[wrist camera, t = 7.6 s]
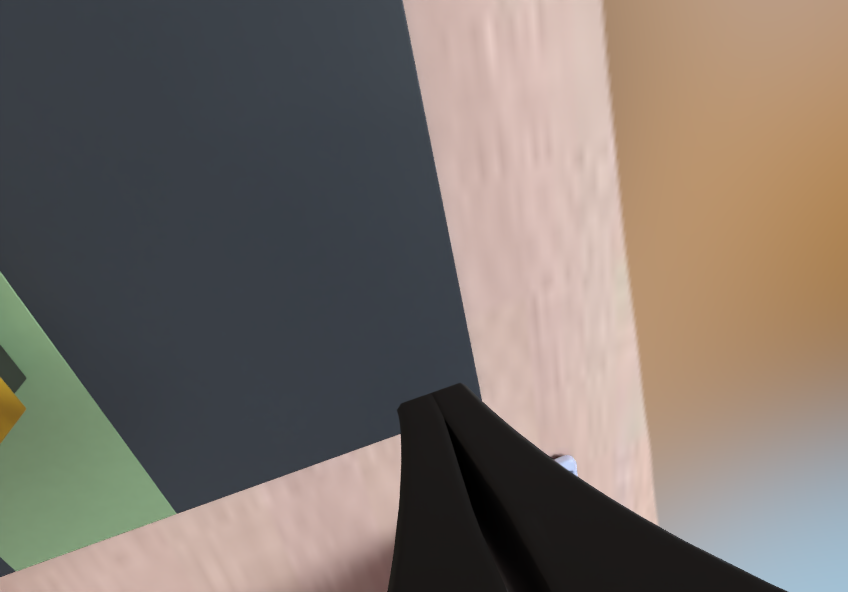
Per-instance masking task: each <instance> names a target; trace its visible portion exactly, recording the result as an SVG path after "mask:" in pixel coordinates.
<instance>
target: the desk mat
mask: <svg viewBox="0 0 848 592" xmlns="http://www.w3.org/2000/svg"><path fill="white" fill-rule="evenodd" d="M0 345H1V346H2V347H3V348H4V350H5V351H6V352H7V354H8V355H9V356H10V357H11V359H12V360H13V361H14V362H15V364H16V365H17V366H18V367H19V369H20V370H21V371H22V372H23V374H24V375H25V376H26V380H25V382H24V383H23V384H22V385H21V386H20V388H19V389H18V390H17V391H16V392H15V395H16V396H17V398H18V399H19V400H20V401H21V402H22V404H23V405H24V406H25V407H26V411H25V412H24V413H23V415H22V416H21V417H20V419H19V420H18V421H17V423H16V424H15V425H14V426H13V428H12V429H11V430H10V432H9V433H8V434H7V436H6V437H5V438H4V440H3V441H2V442H1V444H0V577H2V576H5V575H7V574H10V573H13V572H15V571H19V570H21V569H24V568H27V567H30V566H33V565H35V564H38V563H41V562H44V561H47V560H49V559H52V558H55V557H58V556H61V555H63V554H66V553H69V552H72V551H75V550H77V549H80V548H83V547H86V546H88V545H91V544H94V543H97V542H100V541H102V540H105V539H108V538H111V537H114V536H116V535H119V534H122V533H125V532H128V531H130V530H133V529H136V528H139V527H142V526H144V525H147V524H150V523H153V522H155V521H158V520H161V519H164V518H167V517H169V516H172V515H175V514H176V513H177V514H178V513H181V512H183V511H186V510H189V509H192V508H195V507H197V506H200V505H203V504H206V503H209V502H211V501H214V500H217V499H220V498H222V497H225V496H228V495H231V494H234V493H236V492H239V491H242V490H245V489H248V488H250V487H253V486H256V485H259V484H262V483H264V482H267V481H270V480H273V479H276V478H278V477H281V476H284V475H287V474H289V473H292V472H295V471H298V470H301V469H303V468H306V467H309V466H312V465H315V464H317V463H320V462H323V461H326V460H329V459H331V458H334V457H337V456H340V455H343V454H345V453H348V452H351V451H354V450H357V449H359V448H362V447H365V446H368V445H370V444H373V443H376V442H379V441H382V440H384V439H387V438H390V437H393V436H396V435H398V434H401V431H400V422H399V416H398V412H397V409H398V407H399V406H400V404H401V403H404V402H407V401H409V400H412V399H415V398H418V397H421V396H424V395H426V394H429V393H432V392H435V391H438V390H441V389H443V388H446V387H449V386H452V385H455V384H458V383H462V384H464V385H466V386H467V387H468V388H469V389H470V390H471V391H472V392H473V393H474V394H475V395H476V396H477V397H478V398H479V399H480V400H481V401H482V399H481V394H480V389H479V384H478V379H477V374H476V368H475V363H474V358H473V353H472V348H471V343H470V338H469V333H468V328H467V323H466V318H465V313H464V308H463V303H462V298H461V293H460V288H459V283H458V278H457V273H456V268H455V263H454V258H453V253H452V248H451V243H450V238H449V233H448V227H447V222H446V217H445V212H444V207H443V202H442V197H441V192H440V187H439V182H438V177H437V172H436V167H435V162H434V157H433V152H432V147H431V142H430V137H429V132H428V127H427V122H426V117H425V112H424V107H423V102H422V97H421V92H420V87H419V81H418V76H417V71H416V66H415V61H414V56H413V51H412V46H411V41H410V36H409V31H408V26H407V21H406V16H405V11H404V6H403V1H402V0H0Z"/></svg>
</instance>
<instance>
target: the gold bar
mask: <svg viewBox="0 0 848 592" xmlns="http://www.w3.org/2000/svg"><path fill="white" fill-rule="evenodd" d="M25 380H26V376H25V375H24V374H23V372H22V371H21V370H20V369H19V367H18V366H17V365H16V364H15V362H14V361H13V360H12V359H11V357H10V356H9V355H8V354H7V352H6V351H5V350H4V348H3V347H2V346H1V345H0V444H1V442H2V441H3V440H4V438H5V437H6V436H7V434H8V433H9V432H10V430H11V429H12V428H13V426H14V425H15V424H16V423H17V421H18V420H19V419H20V417H21V416H22V415H23V413H24V412H25V411H26V407H25V406H24V405H23V404H22V402H21V401H20V400H19V399H18V398H17V396H16V395H15V392H16V391H17V390H18V389H19V388H20V386H21V385H22V384H23V383H24V382H25Z"/></svg>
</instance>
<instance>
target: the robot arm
mask: <svg viewBox="0 0 848 592" xmlns="http://www.w3.org/2000/svg"><path fill="white" fill-rule="evenodd" d="M397 412H398V416H399V422H400V431H401V482H400V500H399V511H398V520H397V529H396V537H395V546H394V554H393V561H392V567H391V574H390V580H389V586H388V591H387V592H787V591H785V590H783V589H781V588H779V587H776V586H774V585H772V584H770V583H768V582H766V581H764V580H761V579H760V578H758V577H756V576H753V575H751V574H750V573H748V572H745V571H744V570H742V569H740V568H738V567H736V566H733V565H732V564H730V563H727V562H726V561H723V560H722V559H720V558H717V557H715V556H714V555H712V554H709V553H708V552H706V551H704V550H701V549H700V548H697V547H695V546H693V545H692V544H690V543H688V542H685V541H684V540H682V539H680V538H678V537H676V536H675V535H673V534H671V533H669V532H668V531H666V530H664V529H662V528H660V527H659V526H657V525H655V524H653V523H652V522H650V521H648V520H646V519H644V518H643V517H641V516H639V515H638V514H636V513H634V512H633V511H631V510H629V509H628V508H626V507H624V506H623V505H621V504H619V503H618V502H616V501H614V500H613V499H611V498H610V497H608V496H606V495H605V494H603V493H602V492H600V491H598V490H597V489H595V488H594V487H592V486H591V485H589V484H588V483H586V482H585V481H583V480H582V479H580V478H579V477H578V476H577V464H576V461H575V460H574V458H573V457H572V456H570V455H564V456H561V457H559V458H556V459H552V458H551V457H549V456H548V455H547V454H545V453H544V452H543V451H541V450H540V449H539V448H537V447H536V446H535V445H534V444H532V443H531V442H530V441H528V440H527V439H526V438H525V437H523V436H522V435H521V434H519V433H518V432H517V431H516V430H514V429H513V428H512V427H511V426H510V425H508V424H507V423H506V422H505V421H504V420H503V419H501V418H500V417H499V416H498V415H497V414H496V413H494V412H493V411H492V410H491V409H490V408H489V407H488V406H487V405H486V404H485V403H483V402H482V401H481V400H480V399H479V398H478V397H477V396H476V395H475V394H474V393H473V392H472V391H471V390H470V389H469V388H468V387H467V386H466V385H464V384H462V383H458V384H455V385H452V386H449V387H446V388H443V389H441V390H438V391H435V392H432V393H429V394H426V395H424V396H421V397H418V398H415V399H412V400H409V401H407V402H404V403H401V404H400V406H399V407H398V409H397Z"/></svg>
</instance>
